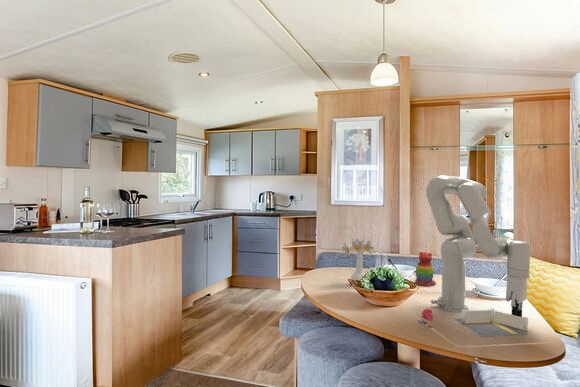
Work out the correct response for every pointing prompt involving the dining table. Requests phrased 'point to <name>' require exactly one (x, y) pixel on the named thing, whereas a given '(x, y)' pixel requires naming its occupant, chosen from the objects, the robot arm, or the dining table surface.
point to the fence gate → (511, 320)
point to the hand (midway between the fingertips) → (516, 319)
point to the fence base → (486, 324)
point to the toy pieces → (426, 316)
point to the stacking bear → (425, 270)
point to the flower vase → (358, 256)
